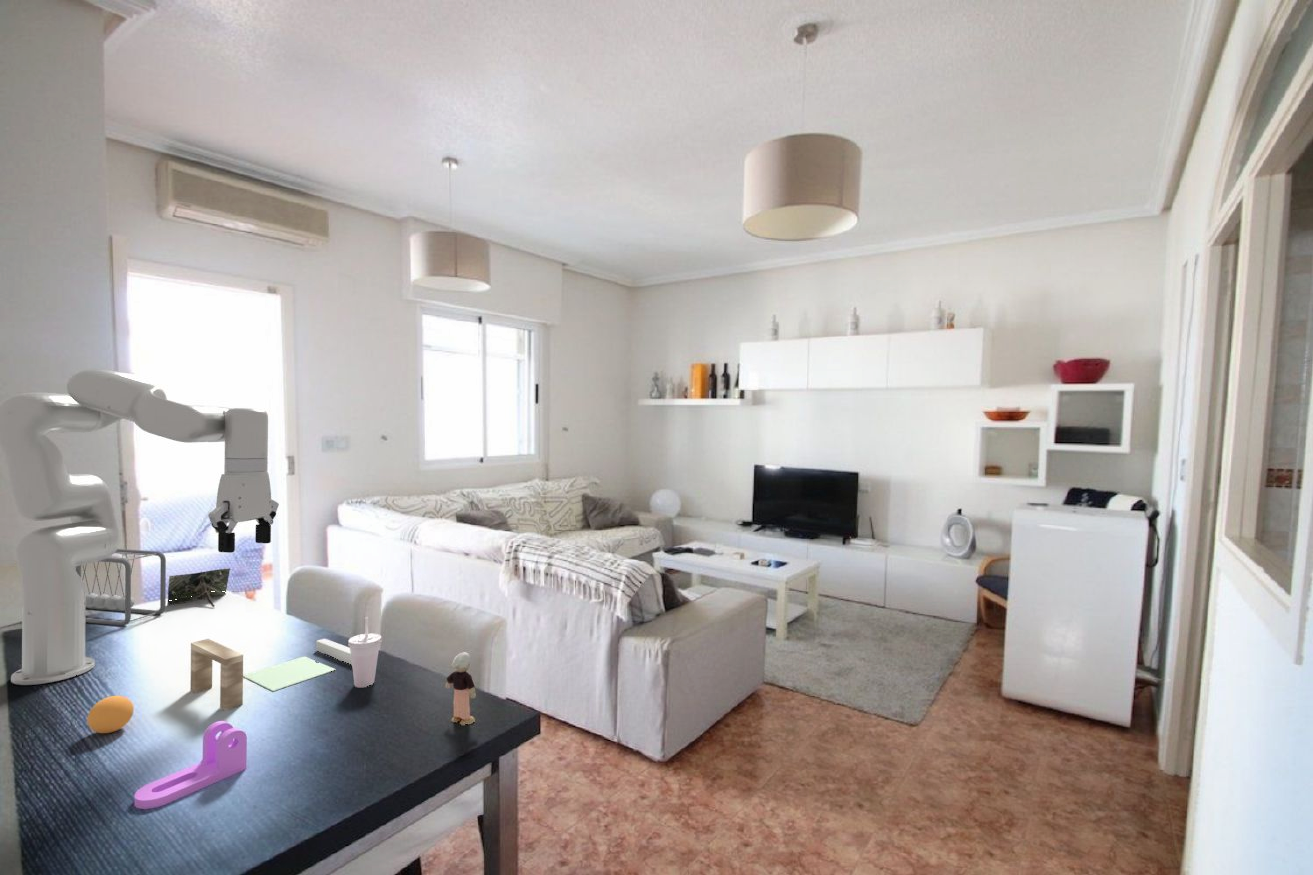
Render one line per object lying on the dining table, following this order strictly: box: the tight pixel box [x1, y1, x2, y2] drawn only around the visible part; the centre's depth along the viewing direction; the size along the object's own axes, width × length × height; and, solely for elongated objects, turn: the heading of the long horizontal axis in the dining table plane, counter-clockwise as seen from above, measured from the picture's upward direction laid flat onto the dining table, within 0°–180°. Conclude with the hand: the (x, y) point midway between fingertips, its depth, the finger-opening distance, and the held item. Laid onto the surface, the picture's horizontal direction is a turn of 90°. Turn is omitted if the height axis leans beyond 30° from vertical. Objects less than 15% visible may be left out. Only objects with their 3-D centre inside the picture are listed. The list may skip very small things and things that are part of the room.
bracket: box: [133, 720, 248, 810], centre depth 90 cm, size 13×6×7 cm, turn 149°
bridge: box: [189, 638, 244, 711], centre depth 118 cm, size 3×15×10 cm, turn 58°
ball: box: [86, 695, 135, 734], centre depth 104 cm, size 6×6×6 cm
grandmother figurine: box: [444, 651, 477, 726], centre depth 111 cm, size 8×4×13 cm, turn 71°
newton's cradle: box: [75, 548, 167, 627], centre depth 164 cm, size 30×10×18 cm, turn 80°
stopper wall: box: [315, 638, 352, 666], centre depth 139 cm, size 16×2×2 cm, turn 58°
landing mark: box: [243, 655, 337, 692], centre depth 130 cm, size 13×13×1 cm
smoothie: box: [347, 616, 382, 689], centre depth 126 cm, size 6×6×14 cm
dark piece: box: [166, 567, 231, 608], centre depth 176 cm, size 15×10×13 cm
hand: (245, 547), depth 126 cm, fingers open, 9 cm apart
